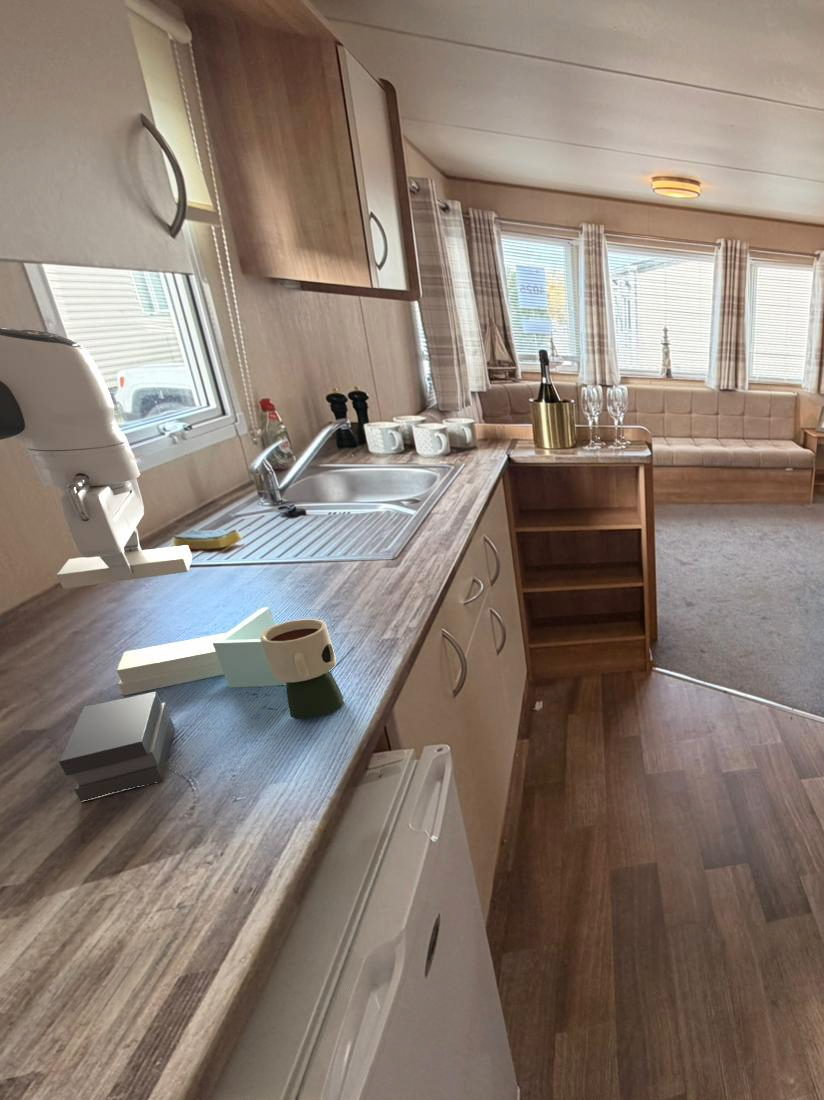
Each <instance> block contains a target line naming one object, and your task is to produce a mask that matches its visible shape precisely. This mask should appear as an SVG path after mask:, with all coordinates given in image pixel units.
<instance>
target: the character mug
mask: <svg viewBox="0 0 824 1100" xmlns="http://www.w3.org/2000/svg"><path fill="white" fill-rule="evenodd" d="M260 639H261V642H262V645H263V648H264V651H265V654H266V657H267V660H268V663H269V666H270V669H271V672H272V674H273V676H274V678H275V679H276V680H277V681H281V682H286V685H285V690H286V698H287V705H288V711H289V715H290V717H291V718H292V719H294V720H309V719H316V718H321V717H327V716H330V715H333V714H334V713H336V712H338V711H339V710H341V709H342V708H343V706H344V705H345V702H344V696H343V694H342V692H341V689H340V687H339V684H338V683H337V681H336V680H335V678H334V676H333V673H332V672H329V670H331V669H332V668H334V666H335V665H336V657H335V653H334V649H333V647H334V646H333V643H332V640H331V636H330V633H329V630H328V627H327V624H326V622H325V621H323V620H320V619H316V618H302V619H294V620H293V619H292V620H289V621H285V622H281V623H278V624H275V626H273V627H270V628H269V629H267V630H265V631H264V632H263V633H262V634H261V636H260ZM334 669H335V668H334Z"/></svg>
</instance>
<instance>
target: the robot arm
mask: <svg viewBox="0 0 824 1100" xmlns="http://www.w3.org/2000/svg"><path fill="white" fill-rule="evenodd" d="M8 439H10V440H11V439H13V440H14V439H15V440H18V441H21V442H22V443H23V444H24V446H25V449H26V451H27V453H28V455H29V457H30V460H31V462H32V464H33V466H34V468H35V471H36V473H37V475H38V478H39V480H40V482H41V484H42V485H43V486H44V487H48V488H55V489H59V490H60V492H61V495H62V496H61V497H60V499H59V503H60V505H59V506H60V509H61V512H62V515H63V519H64V521H65V524H66V527H67V530H68V532H69V534H70V537H71V540H72V543H73V545H74V547H75V549H76V551H77V552H78V553H79V555H80V556H81V557H85V558H90V557H100V558H101V559H102V560H103V561H104V562H105V564H106V565H107V566H108V567H109V569H110V571H111V573H112V575H113V577H114V578H116V579H122V578H129V577H131V576H132V574H133V568H132V566H131V563H130V561H128V560H127V558H126V556H125V554H124V552H133V551H141V550H142V547H141V545H140V539H139V532H138V529H137V526H138V525H139V523H140V522H141V519H142V518H143V517H144V514H145V506H144V501H143V497H142V493H141V489H140V486H139V483H138V479H137V478H139V477H140V476H141V472H140V469H139V467H138V462H137V459H136V456H135V454H134V452H133V451H132V448H131V446H130V443H129V441H128V438H127V436H126V435H125V433H123V431H122V430H121V428H120V427H119V425H118V424H117V421H116V416H115V404H114V402H113V399H112V396H111V394H110V391H109V389H108V387H107V385H106V383H105V380H104V378H103V376H102V374H101V372H100V371H99V369H98V366H97V365H96V362H95V361H94V359H93V357H92V356H91V355H90V353H89V352H88V351H87V350H86V348H85V347H84V346H83V345H82V344H80V343H78V342H77V341H75V340H73V339H72V338H69V337H66V336H64V335H60V334H56V333H51V332H47V331H42V330H41V331H40V330H33V329H26V328H25V329H24V328H21V329H20V328H13V327H0V441H1V440H8Z"/></svg>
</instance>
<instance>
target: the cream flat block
mask: <svg viewBox="0 0 824 1100" xmlns="http://www.w3.org/2000/svg"><path fill="white" fill-rule="evenodd" d="M124 554H125V556H126V558H127V560H128V561H130V563H131V566H132V568H133V574H132V576H131V577H129V578H122V579H116V578H114V577H113V575H112V573H111V571H110V569H109V567H108V566H107V565H106V564H105V562H104V561H103V560H102V559H101V558H100V557H90V558H85V557H83V556H81V557H75V558H68V559H67V561H66V562H65V564H64V565H63V566H62V567H61V569H60V570H59V571H58V572H57V574H56V576H57V578H58V581H59V582H60V584H61V587H62V589H73V588H79V587H86V586H88V587H89V586H95V585H101V584H108V583H116V582H124V581H132V580H139V579H145V578H153V577H160V576H161V577H162V576H169V575H174V574H182V573H188V572H189V570H190V568H191V564H192V561H193V554H192V551H191V549H190V546H189V545H188V544H184V545H176V546H175V545H174V546H169V547H159V548H151V549H150V548H149V549H141V551H133V552H124Z"/></svg>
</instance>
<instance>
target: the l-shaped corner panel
mask: <svg viewBox="0 0 824 1100" xmlns="http://www.w3.org/2000/svg"><path fill="white" fill-rule="evenodd" d="M275 625H276V622H275V620H274V617H273V614H272V610H271V608H270V606H269V607H267V606H266V607H261V608H259V609H258V610H257V611H255V612H254V613H252V614H251V615H250V616H248V617H246V618H245V619H244V620H242V621H241V622H239V624H237V625H236V626H234V627H233V628H231V629H230V630H229V631H227V632H225V633H226V634H225V635H223V636H222V637H220V638H219V639H218V640H216V641H215V642H213V643H212V644H213V646H214V649H215V651H216V654H217V657H218V659H219V662H220V665H221V667H222V670H223V673H224V674H223V675H224V678H225V680H226V683H227V687H228V688H229V689H230V688H231V689H232V688H252V687H253V688H254V687H257V688H258V687H280V686H281V685H283V686H286V682H281V681H277V680H276V679H275V678H274V676H273V674H272V672H271V669H270V666H269V663H268V660H267V657H266V654H265V651H264V648H263V645H262V642H261V639H260V636H261V634H262V633H263V632H264V631H265V630H267V629H269V628H270V627H273V626H275ZM278 685H279V686H278ZM281 687H282V686H281Z"/></svg>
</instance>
